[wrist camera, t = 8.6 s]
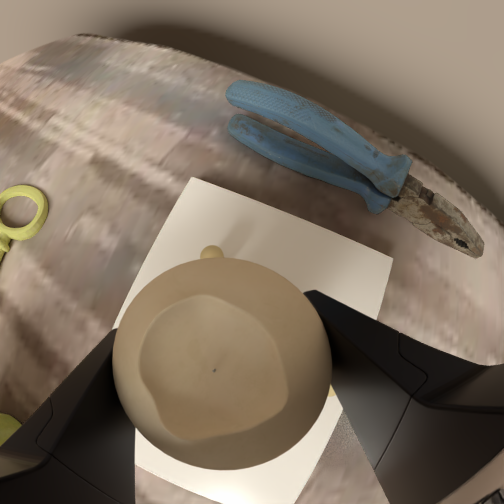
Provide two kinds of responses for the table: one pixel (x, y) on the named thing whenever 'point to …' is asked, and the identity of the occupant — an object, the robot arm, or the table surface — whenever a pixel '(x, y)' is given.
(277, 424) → the candle
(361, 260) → the stud tile
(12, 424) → the plant pot
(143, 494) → the table surface
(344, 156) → the pliers
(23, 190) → the key
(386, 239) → the table surface
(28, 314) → the table surface
